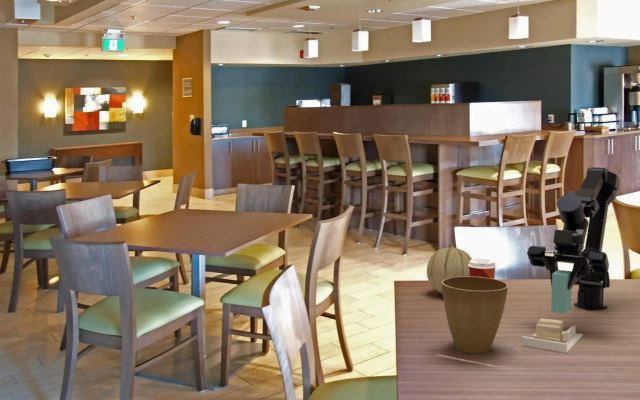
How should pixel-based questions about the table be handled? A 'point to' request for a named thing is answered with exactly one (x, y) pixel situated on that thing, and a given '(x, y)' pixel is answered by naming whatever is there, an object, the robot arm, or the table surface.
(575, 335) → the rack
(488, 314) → the plant pot
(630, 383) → the table surface
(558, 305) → the teal rectangular block
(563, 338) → the offcut lower
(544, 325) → the offcut upper
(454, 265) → the cantaloupe
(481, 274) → the paper cup
